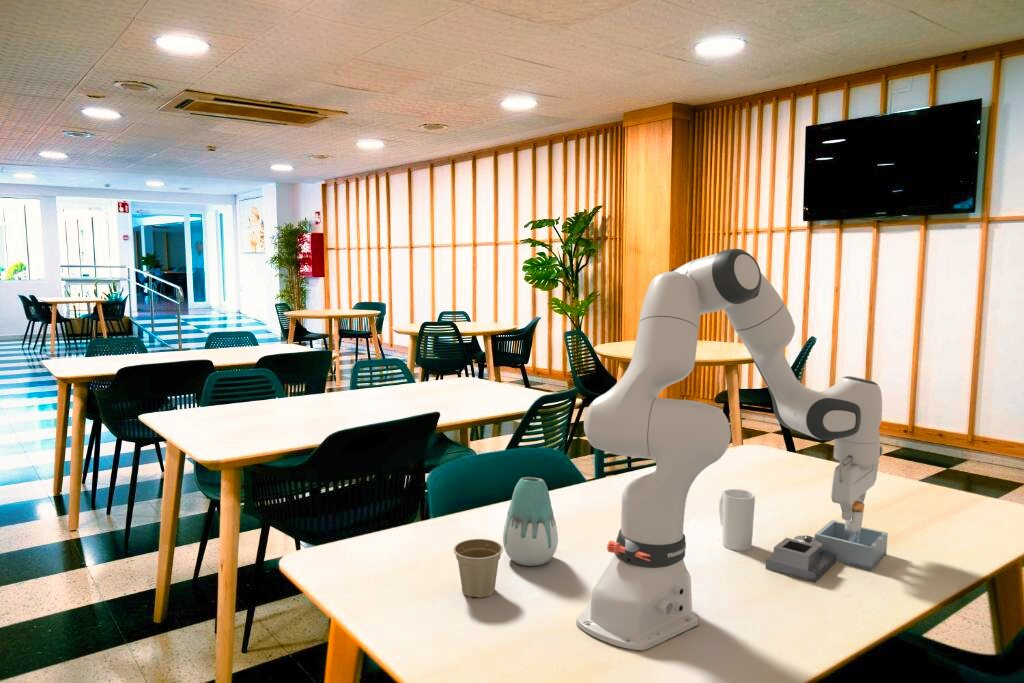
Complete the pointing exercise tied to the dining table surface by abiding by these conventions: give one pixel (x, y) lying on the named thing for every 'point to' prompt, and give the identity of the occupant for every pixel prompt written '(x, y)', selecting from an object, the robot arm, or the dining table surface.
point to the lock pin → (854, 523)
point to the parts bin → (854, 545)
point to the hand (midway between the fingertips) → (852, 514)
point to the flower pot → (478, 566)
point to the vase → (530, 524)
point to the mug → (737, 518)
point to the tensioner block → (801, 558)
